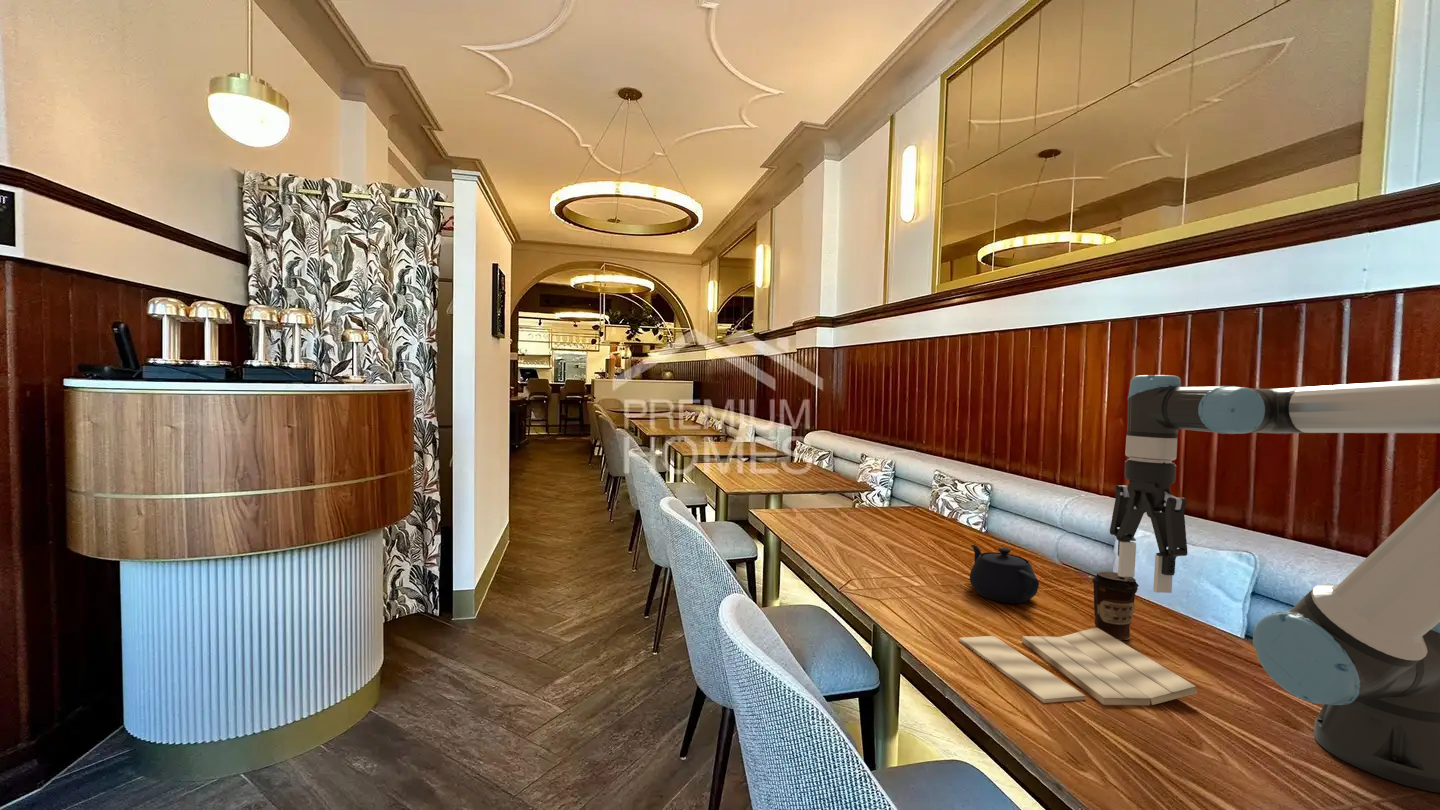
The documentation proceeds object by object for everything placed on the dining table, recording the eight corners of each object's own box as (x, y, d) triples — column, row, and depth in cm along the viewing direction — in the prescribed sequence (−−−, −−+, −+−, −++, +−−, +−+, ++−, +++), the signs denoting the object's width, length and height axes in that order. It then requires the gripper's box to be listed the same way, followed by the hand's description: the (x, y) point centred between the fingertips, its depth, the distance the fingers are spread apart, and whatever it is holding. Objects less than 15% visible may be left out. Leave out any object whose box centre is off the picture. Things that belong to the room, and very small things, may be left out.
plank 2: (1197, 693, 98) (1195, 685, 98) (1152, 705, 97) (1150, 697, 97) (1097, 632, 122) (1096, 626, 122) (1061, 642, 121) (1060, 636, 121)
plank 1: (1085, 702, 99) (1085, 695, 99) (1043, 706, 97) (1044, 699, 97) (993, 641, 122) (993, 635, 122) (958, 643, 121) (958, 637, 121)
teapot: (1064, 612, 139) (1066, 561, 138) (1006, 615, 136) (1008, 563, 135) (995, 578, 163) (997, 534, 163) (944, 579, 160) (946, 535, 160)
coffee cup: (1144, 646, 121) (1148, 584, 120) (1100, 641, 123) (1103, 580, 122) (1124, 629, 129) (1127, 571, 129) (1083, 625, 131) (1086, 567, 131)
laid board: (1149, 705, 97) (1150, 697, 97) (1103, 704, 97) (1103, 697, 97) (1059, 642, 121) (1059, 636, 121) (1022, 641, 121) (1022, 635, 121)
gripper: (1221, 468, 96) (1213, 605, 97) (1127, 454, 117) (1121, 566, 118) (1177, 467, 96) (1170, 604, 97) (1091, 453, 117) (1085, 565, 117)
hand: (1143, 583), depth 107 cm, fingers open, 8 cm apart
